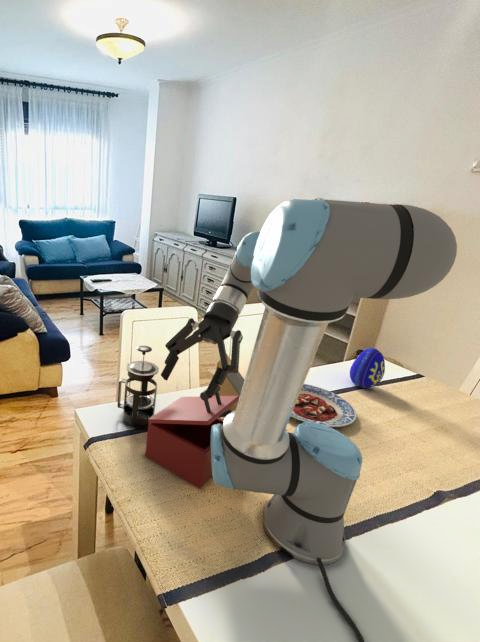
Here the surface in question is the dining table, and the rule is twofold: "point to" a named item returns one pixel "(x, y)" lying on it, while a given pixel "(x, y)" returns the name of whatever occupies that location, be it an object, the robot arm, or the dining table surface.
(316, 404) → the ceramic plate
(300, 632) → the dining table surface
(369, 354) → the ornament
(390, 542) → the dining table surface
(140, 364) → the french press
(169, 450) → the red hinged lid box
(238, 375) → the sandwich container
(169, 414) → the box lid
